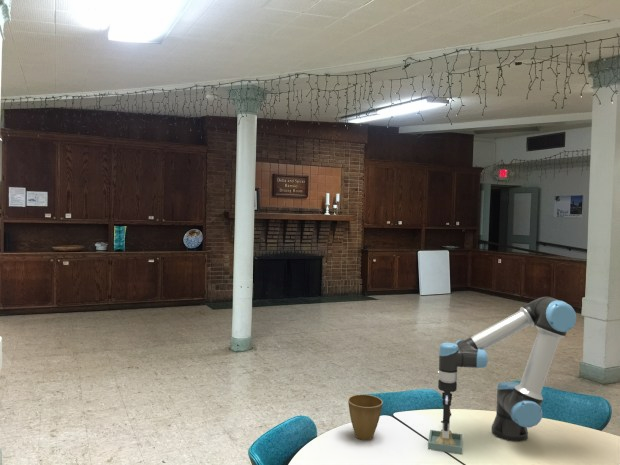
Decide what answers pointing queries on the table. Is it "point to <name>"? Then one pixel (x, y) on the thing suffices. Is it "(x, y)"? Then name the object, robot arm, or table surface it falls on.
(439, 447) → the tray
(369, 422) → the plant pot
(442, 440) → the hand bell
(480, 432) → the table surface
